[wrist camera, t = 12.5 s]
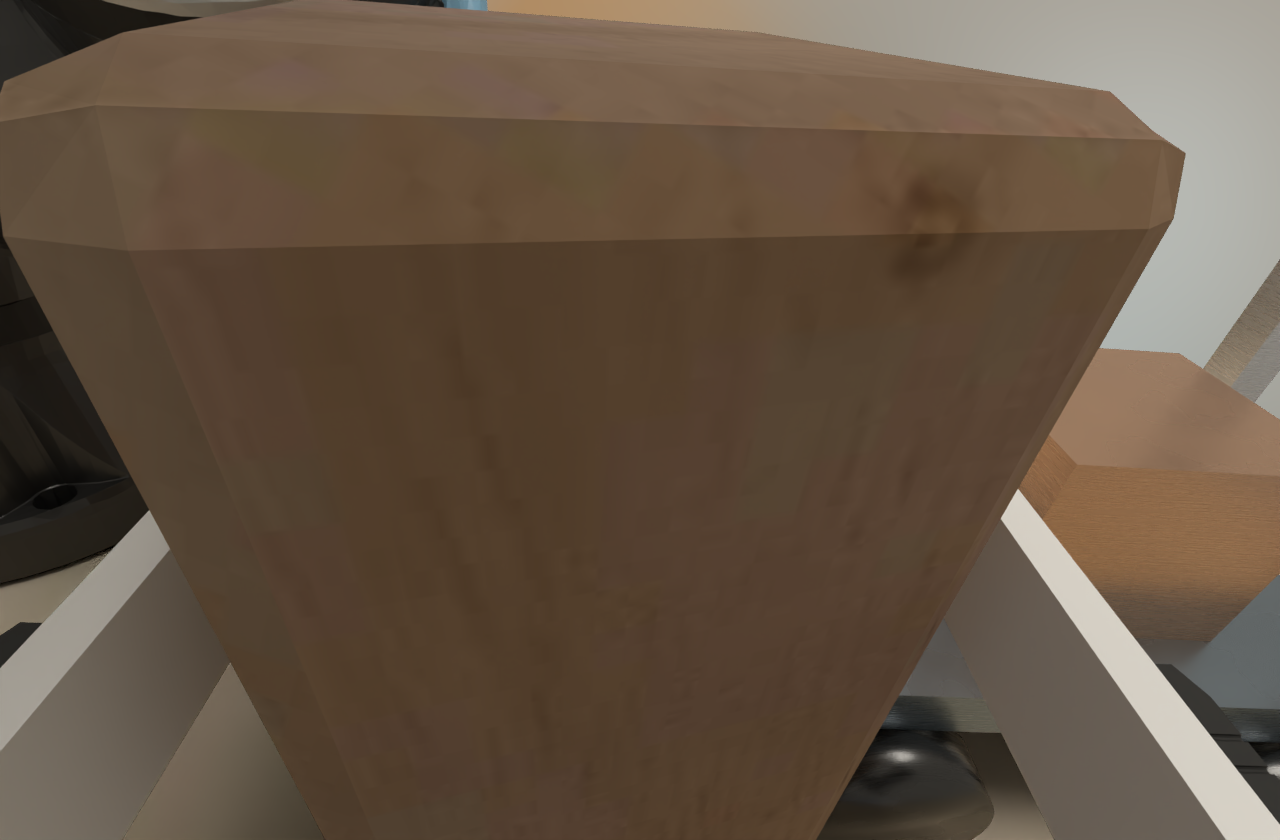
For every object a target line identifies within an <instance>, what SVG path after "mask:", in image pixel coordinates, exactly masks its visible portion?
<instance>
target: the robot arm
mask: <svg viewBox="0 0 1280 840" xmlns="http://www.w3.org/2000/svg"><path fill="white" fill-rule="evenodd" d="M290 1H295V0H0V92H1V90H2V87H3V84H4V81H6V80H9V79H11V78H14V77H16V76H19V75H21V74H23V73H26V72H28V71H31V70H33V69H35V68H38V67H40V66H43V65H45V64H48V63H50V62H52V61H55V60H57V59H60V58H62V57H65V56H67V55H69V54H72V53H74V52H77V51H79V50H82V49H84V48H86V47H89V46H91V45H94V44H96V43H98V42H101V41H103V40H106V39H108V38H111V37H113V36H115V35H118V34H120V33H123V32H128V31H133V30H138V29H144V28H149V27H155V26H160V25H165V24H171V23H176V22H182V21H187V20H192V19H198V18H203V17H209V16H214V15H219V14H225V13H230V12H236V11H241V10H247V9H252V8H257V7H263V6H268V5H274V4H279V3H284V2H290ZM354 1H367V2H379V3H392V4H405V5H418V6H430V7H443V8H456V9H468V10H481V11H487V0H354ZM117 543H118V544H117ZM115 544H117V545H116V546H115V547H114V548H113V549H112V550H111V551H110V552H109V553H108V554H107V556H106V557H105V558H104V559H103V560H102V561H101V562H100V563H99V564H98V565H97V566H96V567H95V568H94V569H93V570H92V571H91V572H90V574H89V575H88V576H87V577H86V578H85V579H84V580H83V581H82V582H81V583H80V584H79V585H78V586H77V587H76V588H75V589H74V591H73V592H72V593H71V594H70V595H69V596H68V597H67V598H66V599H65V600H64V601H63V602H62V603H61V604H60V605H59V606H58V607H57V609H56V610H55V611H54V612H53V613H52V614H51V615H50V616H49V617H48V618H47V619H46V620H45V621H44V622H43V623H26V622H20V623H19V624H17V625H16V626H14V627H13V628H11V629H10V630H8V631H7V632H5V633H4V634H2V635H1V636H0V840H122V839H123V838H124V836H125V834H126V833H127V831H128V829H129V828H130V826H131V824H132V823H133V821H134V820H135V818H136V816H137V815H138V813H139V811H140V810H141V808H142V806H143V805H144V803H145V801H146V800H147V798H148V796H149V795H150V793H151V792H152V790H153V788H154V787H155V785H156V783H157V782H158V780H159V778H160V777H161V775H162V773H163V772H164V770H165V768H166V767H167V765H168V764H169V762H170V760H171V759H172V757H173V755H174V754H175V752H176V750H177V749H178V747H179V745H180V744H181V742H182V740H183V739H184V737H185V736H186V734H187V732H188V731H189V729H190V727H191V726H192V724H193V722H194V721H195V719H196V717H197V716H198V714H199V712H200V711H201V709H202V708H203V706H204V704H205V703H206V701H207V699H208V698H209V696H210V694H211V693H212V691H213V689H214V688H215V686H216V684H217V683H218V681H219V680H220V678H221V676H222V675H223V673H224V671H225V670H226V668H227V666H228V665H229V663H230V660H229V658H228V656H227V655H226V653H225V651H224V649H223V647H222V645H221V643H220V642H219V640H218V638H217V636H216V634H215V632H214V630H213V628H212V627H211V625H210V623H209V621H208V619H207V617H206V615H205V613H204V612H203V610H202V608H201V606H200V604H199V602H198V600H197V598H196V597H195V595H194V593H193V591H192V589H191V587H190V585H189V583H188V582H187V580H186V578H185V576H184V574H183V572H182V570H181V568H180V567H179V565H178V563H177V561H176V559H175V557H174V555H173V553H172V552H171V550H170V548H169V546H168V544H167V542H166V540H165V539H164V537H163V535H162V533H161V531H160V529H159V527H158V525H157V524H156V522H155V520H154V518H153V516H152V514H151V512H150V510H149V509H148V507H147V505H146V503H145V501H144V499H143V497H142V495H141V494H140V492H139V490H138V488H137V486H136V484H135V482H134V480H133V479H132V477H131V475H130V473H129V471H128V469H127V467H126V465H125V464H124V462H123V460H122V458H121V456H120V454H119V452H118V451H117V449H116V447H115V445H114V443H113V441H112V439H111V437H110V436H109V434H108V432H107V430H106V428H105V426H104V424H103V422H102V421H101V419H100V417H99V415H98V413H97V411H96V409H95V407H94V406H93V404H92V402H91V400H90V398H89V396H88V394H87V392H86V391H85V389H84V387H83V385H82V383H81V381H80V379H79V377H78V376H77V374H76V372H75V370H74V368H73V366H72V364H71V362H70V361H69V359H68V357H67V355H66V353H65V351H64V349H63V348H62V346H61V344H60V342H59V340H58V338H57V336H56V334H55V333H54V331H53V329H52V327H51V325H50V323H49V321H48V319H47V318H46V316H45V314H44V312H43V310H42V308H41V306H40V304H39V303H38V301H37V299H36V297H35V295H34V293H33V291H32V289H31V288H30V286H29V284H28V282H27V280H26V278H25V276H24V274H23V273H22V271H21V269H20V267H19V265H18V263H17V261H16V259H15V258H14V256H13V254H12V252H11V250H10V248H9V246H8V245H7V243H6V241H5V239H4V237H3V232H2V224H1V215H0V583H2V582H7V581H11V580H15V579H19V578H23V577H27V576H30V575H34V574H37V573H41V572H44V571H47V570H50V569H53V568H56V567H59V566H62V565H65V564H68V563H71V562H74V561H76V560H79V559H82V558H84V557H87V556H89V555H92V554H94V553H97V552H99V551H101V550H104V549H106V548H108V547H111V546H113V545H115ZM944 619H945V621H946V623H947V625H948V627H949V629H950V631H951V633H952V635H953V637H954V639H955V641H956V643H957V645H958V647H959V649H960V651H961V653H962V655H963V657H964V659H965V661H966V663H967V665H968V667H969V669H970V671H971V673H972V675H973V677H974V679H975V681H976V683H977V685H978V687H979V689H980V692H981V694H982V696H983V698H984V700H985V702H986V704H987V706H988V708H989V710H990V712H991V714H992V716H993V718H994V720H995V722H996V724H997V726H998V728H999V730H1000V732H1001V734H1002V736H1003V738H1004V740H1005V742H1006V744H1007V746H1008V748H1009V750H1010V752H1011V754H1012V756H1013V758H1014V760H1015V762H1016V764H1017V766H1018V768H1019V770H1020V772H1021V774H1022V776H1023V778H1024V780H1025V782H1026V784H1027V786H1028V788H1029V790H1030V792H1031V794H1032V796H1033V798H1034V800H1035V802H1036V804H1037V806H1038V808H1039V810H1040V812H1041V814H1042V816H1043V818H1044V820H1045V822H1046V824H1047V826H1048V828H1049V830H1050V832H1051V834H1052V836H1053V838H1054V840H1280V780H1279V779H1278V778H1277V777H1276V775H1275V774H1270V773H1269V772H1268V770H1267V767H1268V766H1267V765H1266V763H1265V762H1264V761H1263V760H1262V758H1261V757H1260V756H1259V755H1258V754H1257V752H1256V751H1255V750H1254V749H1253V748H1252V746H1251V745H1250V744H1249V743H1248V742H1244V741H1243V740H1242V739H1241V735H1242V734H1241V733H1240V732H1239V731H1238V729H1237V728H1236V727H1235V726H1234V724H1233V723H1232V722H1231V721H1230V720H1229V718H1228V717H1227V716H1226V715H1225V714H1224V712H1223V711H1222V710H1221V709H1220V707H1219V706H1218V705H1217V704H1216V703H1215V701H1214V700H1213V699H1212V698H1211V697H1210V696H1209V695H1208V694H1207V693H1206V692H1204V691H1203V690H1202V689H1201V688H1199V687H1198V686H1197V685H1196V684H1195V683H1193V682H1192V681H1191V680H1190V679H1189V678H1187V677H1186V676H1185V675H1184V674H1183V673H1181V672H1180V671H1179V670H1178V669H1177V668H1175V667H1174V666H1173V665H1172V664H1154V663H1153V661H1152V660H1151V659H1150V657H1149V656H1148V655H1147V654H1146V652H1145V651H1144V650H1143V648H1142V647H1141V646H1140V645H1139V643H1138V642H1137V641H1136V639H1135V638H1134V637H1133V636H1132V634H1131V633H1130V632H1129V631H1128V629H1127V628H1126V627H1125V625H1124V624H1123V623H1122V622H1121V620H1120V619H1119V618H1118V616H1117V615H1116V614H1115V613H1114V611H1113V610H1112V609H1111V607H1110V606H1109V605H1108V604H1107V602H1106V601H1105V600H1104V598H1103V597H1102V596H1101V595H1100V593H1099V592H1098V591H1097V589H1096V588H1095V587H1094V586H1093V584H1092V583H1091V582H1090V580H1089V579H1088V578H1087V577H1086V575H1085V574H1084V573H1083V571H1082V570H1081V569H1080V568H1079V566H1078V565H1077V564H1076V563H1075V561H1074V560H1073V559H1072V557H1071V556H1070V555H1069V554H1068V552H1067V551H1066V550H1065V548H1064V547H1063V546H1062V545H1061V543H1060V542H1059V541H1058V539H1057V538H1056V537H1055V536H1054V534H1053V533H1052V532H1051V530H1050V529H1049V528H1048V527H1047V525H1046V524H1045V523H1044V521H1043V520H1042V519H1041V518H1040V516H1039V515H1038V514H1037V512H1036V511H1035V510H1034V509H1033V507H1032V506H1031V505H1030V503H1029V502H1028V501H1027V500H1026V498H1025V497H1024V496H1023V495H1022V493H1021V492H1020V491H1019V489H1017V491H1016V493H1015V495H1014V496H1013V498H1012V500H1011V502H1010V503H1009V505H1008V507H1007V509H1006V510H1005V512H1004V514H1003V516H1002V517H1001V519H1000V521H999V522H998V524H997V526H996V528H995V529H994V531H993V533H992V535H991V536H990V538H989V540H988V542H987V543H986V545H985V547H984V549H983V550H982V552H981V554H980V555H979V557H978V559H977V561H976V562H975V564H974V566H973V568H972V569H971V571H970V573H969V575H968V576H967V578H966V580H965V582H964V583H963V585H962V587H961V589H960V590H959V592H958V594H957V595H956V597H955V599H954V601H953V602H952V604H951V606H950V608H949V609H948V611H947V613H946V615H945V616H944Z"/></svg>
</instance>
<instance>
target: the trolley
mask: <svg viewBox="0 0 1280 840" xmlns="http://www.w3.org/2000/svg"><path fill="white" fill-rule="evenodd" d="M1279 371H1280V260H1279V261H1278V263H1277V264H1276V266H1275V267H1274V269H1273V270H1272V271H1271V273H1270V274H1269V276H1268V277H1267V279H1266V280H1265V281H1264V283H1263V284H1262V286H1261V287H1260V289H1259V290H1258V291H1257V293H1256V294H1255V296H1254V297H1253V298H1252V300H1251V301H1250V303H1249V304H1248V306H1247V307H1246V309H1245V310H1244V311H1243V313H1242V314H1241V316H1240V317H1239V318H1238V320H1237V321H1236V323H1235V324H1234V325H1233V327H1232V328H1231V330H1230V332H1229V333H1228V334H1227V335H1226V337H1225V338H1224V340H1223V341H1222V343H1221V344H1220V345H1219V347H1218V348H1217V350H1216V351H1215V353H1214V354H1213V355H1212V357H1211V358H1210V360H1209V361H1208V362H1207V364H1206V365H1205V367H1204V368H1203V369H1202V368H1201V367H1199V366H1198V365H1196V364H1195V363H1193V362H1191V361H1190V360H1188V359H1187V358H1185V357H1184V356H1182V355H1181V354H1179V353H1164V352H1149V351H1134V350H1119V349H1103V348H1099V349H1098V350H1097V352H1096V354H1095V356H1094V357H1093V359H1092V361H1091V363H1090V364H1089V366H1088V368H1087V370H1086V371H1085V373H1084V375H1083V377H1082V378H1081V380H1080V382H1079V384H1078V385H1077V387H1076V389H1075V390H1074V392H1073V394H1072V396H1071V397H1070V399H1069V401H1068V403H1067V404H1066V406H1065V408H1064V410H1063V411H1062V413H1061V415H1060V417H1059V418H1058V420H1057V422H1056V423H1055V425H1054V427H1053V429H1052V430H1051V432H1050V434H1049V436H1048V437H1047V439H1046V441H1045V443H1044V444H1043V446H1042V448H1041V450H1040V451H1039V453H1038V455H1037V456H1036V458H1035V460H1034V462H1033V463H1032V465H1031V467H1030V469H1029V470H1028V472H1027V474H1026V476H1025V477H1024V479H1023V481H1022V483H1021V484H1020V486H1019V488H1018V489H1019V491H1020V492H1021V493H1022V495H1023V496H1024V497H1025V498H1026V500H1027V501H1028V502H1029V503H1030V505H1031V506H1032V507H1033V509H1034V510H1035V511H1036V512H1037V514H1038V515H1039V516H1040V518H1041V519H1042V520H1043V521H1044V523H1045V524H1046V525H1047V527H1048V528H1049V529H1050V530H1051V532H1052V533H1053V534H1054V536H1055V537H1056V538H1057V539H1058V541H1059V542H1060V543H1061V545H1062V546H1063V547H1064V548H1065V550H1066V551H1067V552H1068V554H1069V555H1070V556H1071V557H1072V559H1073V560H1074V561H1075V563H1076V564H1077V565H1078V566H1079V568H1080V569H1081V570H1082V571H1083V573H1084V574H1085V575H1086V577H1087V578H1088V579H1089V580H1090V582H1091V583H1092V584H1093V586H1094V587H1095V588H1096V589H1097V591H1098V592H1099V593H1100V595H1101V596H1102V597H1103V598H1104V600H1105V601H1106V602H1107V604H1108V605H1109V606H1110V607H1111V609H1112V610H1113V611H1114V613H1115V614H1116V615H1117V616H1118V618H1119V619H1120V620H1121V622H1122V623H1123V624H1124V625H1125V627H1126V628H1127V629H1128V631H1129V632H1130V633H1131V634H1132V636H1133V637H1134V638H1135V639H1136V641H1137V642H1138V643H1139V645H1140V646H1141V647H1142V648H1143V650H1144V651H1145V652H1146V654H1147V655H1148V656H1149V657H1150V659H1151V660H1152V661H1153V663H1154V664H1172V665H1173V666H1174V667H1175V668H1177V669H1178V670H1179V671H1180V672H1181V673H1183V674H1184V675H1185V676H1186V677H1187V678H1189V679H1190V680H1191V681H1192V682H1193V683H1195V684H1196V685H1197V686H1198V687H1199V688H1201V689H1202V690H1203V691H1204V692H1206V693H1207V694H1208V695H1209V696H1210V697H1211V698H1212V699H1213V700H1214V701H1215V703H1216V704H1217V705H1218V706H1219V707H1220V709H1221V710H1222V711H1223V712H1224V714H1225V715H1226V716H1227V717H1228V718H1229V720H1230V721H1231V722H1232V723H1233V724H1234V726H1235V727H1236V728H1237V729H1238V731H1239V732H1240V733H1241V734H1242V735H1241V739H1242V740H1243V741H1244V742H1248V743H1249V744H1250V745H1251V746H1252V748H1253V749H1254V750H1255V751H1256V752H1257V754H1258V755H1259V756H1260V757H1261V758H1262V760H1263V761H1264V762H1265V763H1266V765H1267V766H1268V767H1267V770H1268V772H1269V773H1270V774H1275V775H1276V777H1277V778H1278V779H1279V780H1280V575H1279V574H1280V420H1279V419H1278V418H1276V417H1275V416H1273V415H1272V414H1270V413H1269V412H1267V411H1266V410H1264V409H1263V408H1261V407H1260V406H1258V405H1257V404H1255V403H1254V402H1255V401H1256V400H1257V399H1258V397H1259V396H1260V395H1261V394H1262V392H1263V391H1264V390H1265V389H1266V387H1267V386H1268V385H1269V383H1270V382H1271V381H1272V380H1273V378H1274V377H1275V376H1276V375H1277V373H1278V372H1279ZM954 731H957V732H986V733H1001V732H1000V730H999V728H998V726H997V724H996V722H995V720H994V718H993V716H992V714H991V712H990V710H989V708H988V706H987V704H986V702H985V700H984V698H983V696H982V694H981V692H980V689H979V687H978V685H977V683H976V681H975V679H974V677H973V675H972V673H971V671H970V669H969V667H968V665H967V663H966V661H965V659H964V657H963V655H962V653H961V651H960V649H959V647H958V645H957V643H956V641H955V639H954V637H953V635H952V633H951V631H950V629H949V627H948V625H947V623H946V621H945V619H944V618H943V620H942V622H941V623H940V625H939V627H938V628H937V630H936V632H935V634H934V635H933V637H932V639H931V641H930V642H929V644H928V646H927V648H926V649H925V651H924V653H923V655H922V656H921V658H920V660H919V661H918V663H917V665H916V667H915V668H914V670H913V672H912V674H911V675H910V677H909V679H908V681H907V682H906V684H905V686H904V688H903V689H902V691H901V693H900V694H899V696H898V698H897V700H896V701H895V703H894V705H893V707H892V708H891V710H890V712H889V714H888V715H887V717H886V719H885V721H884V722H883V724H882V726H881V727H880V729H879V731H878V733H877V734H876V736H875V738H874V740H873V741H872V743H871V745H870V747H869V748H868V750H867V752H866V754H865V755H864V757H863V759H862V761H861V762H860V764H859V766H858V767H857V769H856V771H855V773H854V774H853V776H852V778H851V780H850V781H849V783H848V785H847V787H846V788H845V790H844V792H843V794H842V795H841V797H840V799H839V800H838V802H837V804H836V806H835V807H834V809H833V811H832V813H831V814H830V816H829V818H828V820H827V821H826V823H825V825H824V827H823V828H822V830H821V832H820V833H819V835H818V837H817V839H816V840H971V839H973V838H975V837H976V836H977V835H979V834H980V833H981V832H983V831H984V830H985V829H986V828H987V827H988V825H989V824H990V823H991V821H992V819H993V815H994V809H993V805H992V803H991V801H990V799H989V796H988V794H987V792H986V789H985V787H984V785H983V783H982V780H981V778H980V776H979V774H978V771H977V769H976V767H975V764H974V762H973V760H972V758H971V755H970V753H969V751H968V749H967V746H966V744H965V742H964V740H963V739H962V738H961V737H960V735H958V734H957V733H956V732H954Z"/></svg>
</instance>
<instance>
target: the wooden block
mask: <svg viewBox="0 0 1280 840" xmlns="http://www.w3.org/2000/svg"><path fill="white" fill-rule="evenodd" d="M1184 159H1185V153H1184V152H1183V151H1181V150H1180V149H1179V148H1177V147H1176V146H1174V145H1173V144H1171V143H1170V142H1168V141H1167V140H1165V139H1164V138H1162V137H1161V136H1160V135H1158V134H1156V133H1155V132H1154V131H1152V130H1151V129H1150V128H1149V127H1148V126H1147V125H1146V124H1145V123H1143V122H1142V121H1141V120H1140V119H1139V118H1138V117H1137V116H1136V115H1135V114H1134V113H1133V112H1132V111H1130V110H1129V109H1128V108H1127V107H1126V106H1125V105H1124V104H1123V103H1122V102H1121V101H1120V100H1119V99H1118V98H1116V97H1115V96H1114V95H1113V94H1112V93H1111V92H1109V91H1103V90H1097V89H1091V88H1085V87H1080V86H1074V85H1068V84H1062V83H1056V82H1050V81H1044V80H1038V79H1031V78H1026V77H1020V76H1014V75H1008V74H1002V73H996V72H990V71H984V70H978V69H973V68H966V67H961V66H955V65H948V64H942V63H936V62H931V61H925V60H919V59H913V58H907V57H901V56H895V55H889V54H883V53H877V52H871V51H865V50H859V49H854V48H848V47H841V46H836V45H830V44H823V43H818V42H812V41H806V40H800V39H794V38H788V37H782V36H776V35H770V34H764V33H758V32H747V31H734V30H722V29H710V28H709V29H708V28H697V27H684V26H672V25H659V24H646V23H633V22H621V21H608V20H607V21H606V20H595V19H583V18H570V17H557V16H544V15H532V14H519V13H506V12H493V11H481V10H468V9H456V8H443V7H430V6H418V5H405V4H392V3H379V2H367V1H354V0H295V1H290V2H284V3H279V4H274V5H268V6H263V7H257V8H252V9H247V10H241V11H236V12H230V13H225V14H219V15H214V16H209V17H203V18H198V19H192V20H187V21H182V22H176V23H171V24H165V25H160V26H155V27H149V28H144V29H138V30H133V31H128V32H123V33H120V34H118V35H115V36H113V37H111V38H108V39H106V40H103V41H101V42H98V43H96V44H94V45H91V46H89V47H86V48H84V49H82V50H79V51H77V52H74V53H72V54H69V55H67V56H65V57H62V58H60V59H57V60H55V61H52V62H50V63H48V64H45V65H43V66H40V67H38V68H35V69H33V70H31V71H28V72H26V73H23V74H21V75H19V76H16V77H14V78H11V79H9V80H6V81H4V84H3V87H2V90H1V92H0V215H1V224H2V232H3V237H4V239H5V241H6V243H7V245H8V246H9V248H10V250H11V252H12V254H13V256H14V258H15V259H16V261H17V263H18V265H19V267H20V269H21V271H22V273H23V274H24V276H25V278H26V280H27V282H28V284H29V286H30V288H31V289H32V291H33V293H34V295H35V297H36V299H37V301H38V303H39V304H40V306H41V308H42V310H43V312H44V314H45V316H46V318H47V319H48V321H49V323H50V325H51V327H52V329H53V331H54V333H55V334H56V336H57V338H58V340H59V342H60V344H61V346H62V348H63V349H64V351H65V353H66V355H67V357H68V359H69V361H70V362H71V364H72V366H73V368H74V370H75V372H76V374H77V376H78V377H79V379H80V381H81V383H82V385H83V387H84V389H85V391H86V392H87V394H88V396H89V398H90V400H91V402H92V404H93V406H94V407H95V409H96V411H97V413H98V415H99V417H100V419H101V421H102V422H103V424H104V426H105V428H106V430H107V432H108V434H109V436H110V437H111V439H112V441H113V443H114V445H115V447H116V449H117V451H118V452H119V454H120V456H121V458H122V460H123V462H124V464H125V465H126V467H127V469H128V471H129V473H130V475H131V477H132V479H133V480H134V482H135V484H136V486H137V488H138V490H139V492H140V494H141V495H142V497H143V499H144V501H145V503H146V505H147V507H148V509H149V510H150V512H151V514H152V516H153V518H154V520H155V522H156V524H157V525H158V527H159V529H160V531H161V533H162V535H163V537H164V539H165V540H166V542H167V544H168V546H169V548H170V550H171V552H172V553H173V555H174V557H175V559H176V561H177V563H178V565H179V567H180V568H181V570H182V572H183V574H184V576H185V578H186V580H187V582H188V583H189V585H190V587H191V589H192V591H193V593H194V595H195V597H196V598H197V600H198V602H199V604H200V606H201V608H202V610H203V612H204V613H205V615H206V617H207V619H208V621H209V623H210V625H211V627H212V628H213V630H214V632H215V634H216V636H217V638H218V640H219V642H220V643H221V645H222V647H223V649H224V651H225V653H226V655H227V656H228V658H229V660H230V662H231V664H232V666H233V668H234V670H235V671H236V673H237V675H238V677H239V679H240V681H241V683H242V685H243V686H244V688H245V690H246V692H247V694H248V696H249V698H250V700H251V701H252V703H253V705H254V707H255V709H256V711H257V713H258V715H259V716H260V718H261V720H262V722H263V724H264V726H265V728H266V730H267V731H268V733H269V735H270V737H271V739H272V741H273V743H274V745H275V746H276V748H277V750H278V752H279V754H280V756H281V758H282V759H283V761H284V763H285V765H286V767H287V769H288V771H289V773H290V774H291V776H292V778H293V780H294V782H295V784H296V786H297V788H298V789H299V791H300V793H301V795H302V797H303V799H304V801H305V803H306V804H307V806H308V808H309V810H310V812H311V814H312V816H313V818H314V819H315V821H316V823H317V825H318V827H319V829H320V831H321V833H322V834H323V836H324V838H325V840H816V839H817V837H818V835H819V833H820V832H821V830H822V828H823V827H824V825H825V823H826V821H827V820H828V818H829V816H830V814H831V813H832V811H833V809H834V807H835V806H836V804H837V802H838V800H839V799H840V797H841V795H842V794H843V792H844V790H845V788H846V787H847V785H848V783H849V781H850V780H851V778H852V776H853V774H854V773H855V771H856V769H857V767H858V766H859V764H860V762H861V761H862V759H863V757H864V755H865V754H866V752H867V750H868V748H869V747H870V745H871V743H872V741H873V740H874V738H875V736H876V734H877V733H878V731H879V729H880V727H881V726H882V724H883V722H884V721H885V719H886V717H887V715H888V714H889V712H890V710H891V708H892V707H893V705H894V703H895V701H896V700H897V698H898V696H899V694H900V693H901V691H902V689H903V688H904V686H905V684H906V682H907V681H908V679H909V677H910V675H911V674H912V672H913V670H914V668H915V667H916V665H917V663H918V661H919V660H920V658H921V656H922V655H923V653H924V651H925V649H926V648H927V646H928V644H929V642H930V641H931V639H932V637H933V635H934V634H935V632H936V630H937V628H938V627H939V625H940V623H941V622H942V620H943V618H944V616H945V615H946V613H947V611H948V609H949V608H950V606H951V604H952V602H953V601H954V599H955V597H956V595H957V594H958V592H959V590H960V589H961V587H962V585H963V583H964V582H965V580H966V578H967V576H968V575H969V573H970V571H971V569H972V568H973V566H974V564H975V562H976V561H977V559H978V557H979V555H980V554H981V552H982V550H983V549H984V547H985V545H986V543H987V542H988V540H989V538H990V536H991V535H992V533H993V531H994V529H995V528H996V526H997V524H998V522H999V521H1000V519H1001V517H1002V516H1003V514H1004V512H1005V510H1006V509H1007V507H1008V505H1009V503H1010V502H1011V500H1012V498H1013V496H1014V495H1015V493H1016V491H1017V489H1018V488H1019V486H1020V484H1021V483H1022V481H1023V479H1024V477H1025V476H1026V474H1027V472H1028V470H1029V469H1030V467H1031V465H1032V463H1033V462H1034V460H1035V458H1036V456H1037V455H1038V453H1039V451H1040V450H1041V448H1042V446H1043V444H1044V443H1045V441H1046V439H1047V437H1048V436H1049V434H1050V432H1051V430H1052V429H1053V427H1054V425H1055V423H1056V422H1057V420H1058V418H1059V417H1060V415H1061V413H1062V411H1063V410H1064V408H1065V406H1066V404H1067V403H1068V401H1069V399H1070V397H1071V396H1072V394H1073V392H1074V390H1075V389H1076V387H1077V385H1078V384H1079V382H1080V380H1081V378H1082V377H1083V375H1084V373H1085V371H1086V370H1087V368H1088V366H1089V364H1090V363H1091V361H1092V359H1093V357H1094V356H1095V354H1096V352H1097V350H1098V349H1099V347H1100V345H1101V344H1102V342H1103V340H1104V338H1105V337H1106V335H1107V333H1108V331H1109V330H1110V328H1111V326H1112V324H1113V323H1114V321H1115V319H1116V317H1117V316H1118V314H1119V312H1120V310H1121V309H1122V307H1123V305H1124V304H1125V302H1126V300H1127V298H1128V296H1129V295H1130V293H1131V291H1132V290H1133V288H1134V286H1135V284H1136V283H1137V281H1138V279H1139V277H1140V276H1141V274H1142V272H1143V270H1144V269H1145V267H1146V265H1147V264H1148V262H1149V260H1150V258H1151V257H1152V255H1153V253H1154V251H1155V250H1156V248H1157V246H1158V245H1159V243H1160V241H1161V239H1162V238H1163V236H1164V234H1165V232H1166V230H1167V229H1168V227H1169V225H1170V224H1171V222H1172V220H1173V218H1174V213H1175V208H1176V203H1177V197H1178V192H1179V187H1180V181H1181V176H1182V170H1183V165H1184Z"/></svg>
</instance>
